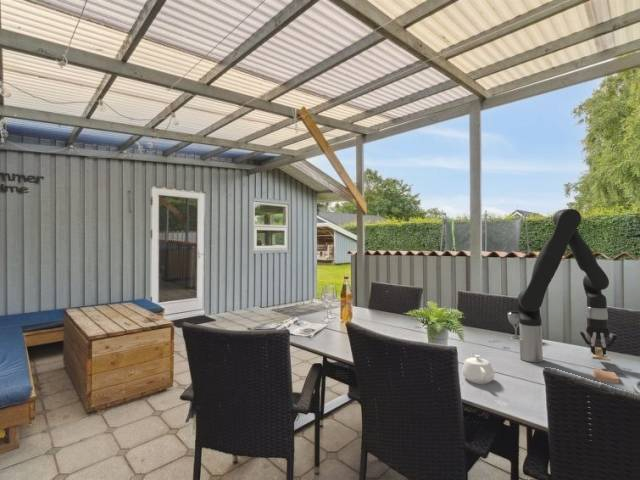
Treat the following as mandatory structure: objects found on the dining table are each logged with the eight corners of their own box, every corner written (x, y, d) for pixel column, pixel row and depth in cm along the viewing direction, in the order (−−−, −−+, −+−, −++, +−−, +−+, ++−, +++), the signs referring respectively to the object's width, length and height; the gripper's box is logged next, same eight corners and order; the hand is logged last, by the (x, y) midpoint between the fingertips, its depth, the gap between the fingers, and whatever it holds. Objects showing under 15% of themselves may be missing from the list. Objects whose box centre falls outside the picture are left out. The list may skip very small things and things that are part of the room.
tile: (593, 374, 143) (596, 381, 137) (593, 369, 143) (596, 375, 137) (614, 377, 140) (618, 384, 133) (614, 372, 140) (618, 379, 133)
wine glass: (525, 337, 198) (524, 311, 199) (522, 340, 193) (521, 314, 193) (510, 334, 204) (509, 310, 204) (506, 337, 198) (506, 312, 198)
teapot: (456, 369, 152) (456, 347, 152) (485, 370, 150) (485, 348, 150) (468, 388, 132) (467, 363, 132) (502, 390, 130) (501, 364, 130)
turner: (592, 358, 147) (592, 350, 147) (588, 353, 160) (588, 346, 161) (610, 361, 143) (609, 352, 144) (605, 356, 157) (604, 348, 157)
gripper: (578, 317, 154) (580, 354, 154) (618, 320, 146) (620, 359, 146) (577, 314, 160) (578, 349, 160) (615, 316, 153) (617, 354, 152)
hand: (598, 354), depth 153 cm, fingers closed on turner, 2 cm apart
